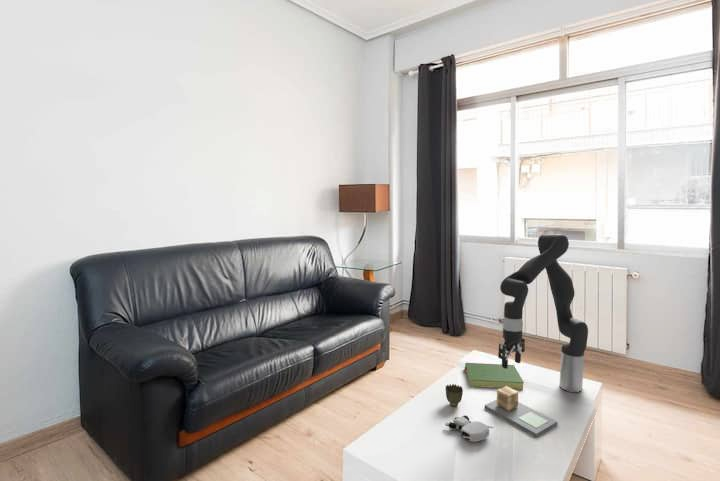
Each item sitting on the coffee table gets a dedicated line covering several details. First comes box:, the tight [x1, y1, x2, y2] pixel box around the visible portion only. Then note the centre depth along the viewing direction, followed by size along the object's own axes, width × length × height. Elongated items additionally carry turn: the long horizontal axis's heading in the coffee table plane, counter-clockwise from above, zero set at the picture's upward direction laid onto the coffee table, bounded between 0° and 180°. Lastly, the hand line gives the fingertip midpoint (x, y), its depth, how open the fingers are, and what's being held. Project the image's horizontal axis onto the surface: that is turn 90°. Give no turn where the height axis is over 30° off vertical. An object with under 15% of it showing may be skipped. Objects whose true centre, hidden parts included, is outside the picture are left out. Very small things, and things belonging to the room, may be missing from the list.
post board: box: [484, 399, 559, 438], centre depth 160 cm, size 14×24×8 cm, turn 33°
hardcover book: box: [463, 362, 525, 390], centre depth 194 cm, size 25×19×4 cm
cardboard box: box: [496, 386, 519, 411], centre depth 165 cm, size 6×6×6 cm
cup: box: [445, 383, 464, 408], centre depth 169 cm, size 8×7×8 cm
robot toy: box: [444, 414, 494, 443], centre depth 150 cm, size 12×4×15 cm
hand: (511, 365), depth 162 cm, fingers open, 8 cm apart
